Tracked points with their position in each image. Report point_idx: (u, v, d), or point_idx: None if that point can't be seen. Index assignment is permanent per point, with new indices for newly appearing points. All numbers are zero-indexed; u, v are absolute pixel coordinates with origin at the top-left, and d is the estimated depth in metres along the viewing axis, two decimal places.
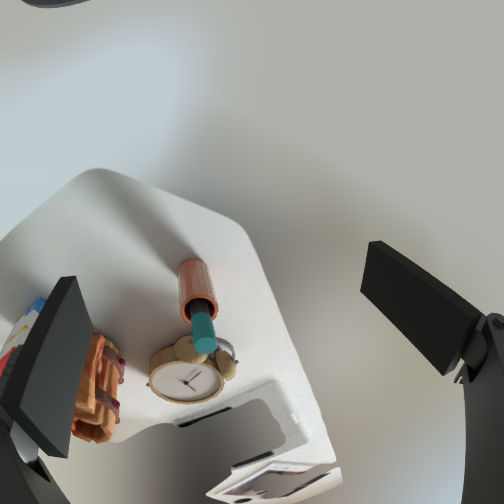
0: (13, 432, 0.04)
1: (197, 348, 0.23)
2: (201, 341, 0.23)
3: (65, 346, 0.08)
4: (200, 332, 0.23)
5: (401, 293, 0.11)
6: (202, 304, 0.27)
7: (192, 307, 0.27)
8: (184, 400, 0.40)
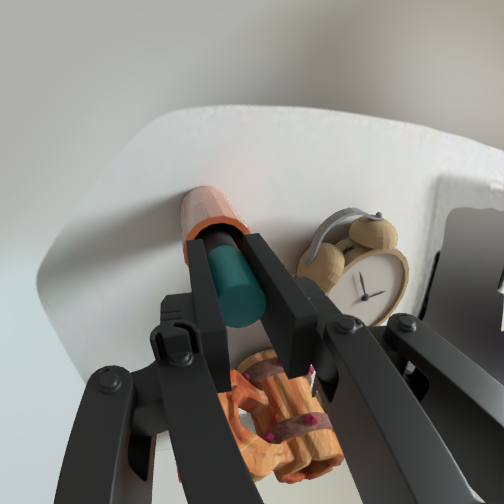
0: None
1: (239, 323, 0.11)
2: (224, 311, 0.10)
3: None
4: None
5: None
6: (207, 242, 0.15)
7: None
8: (388, 309, 0.29)
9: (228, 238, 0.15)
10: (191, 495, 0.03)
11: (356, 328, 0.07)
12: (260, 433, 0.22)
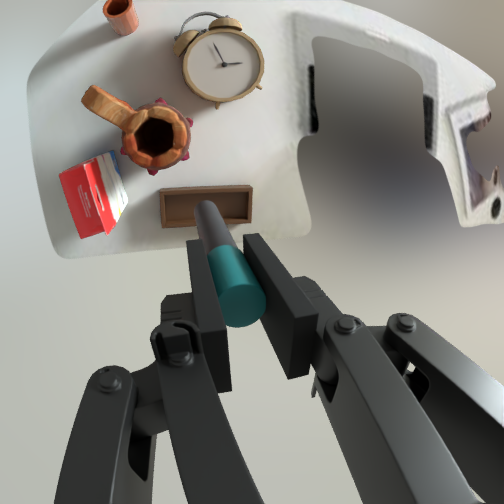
0: None
1: (239, 323, 0.11)
2: (225, 311, 0.10)
3: None
4: None
5: None
6: (207, 242, 0.15)
7: None
8: (253, 82, 0.35)
9: (228, 238, 0.15)
10: (191, 495, 0.03)
11: (356, 328, 0.07)
12: None
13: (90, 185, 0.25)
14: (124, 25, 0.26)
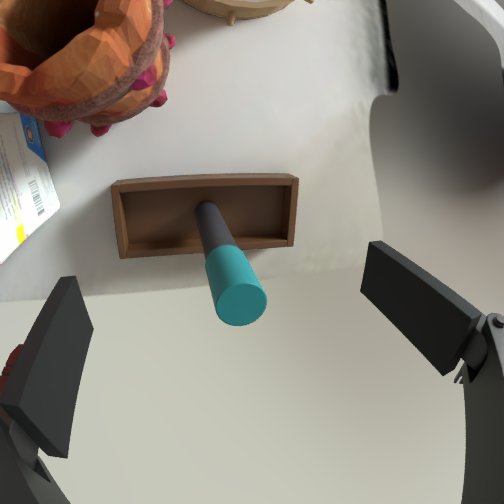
0: (13, 432, 0.04)
1: (240, 321, 0.11)
2: (226, 309, 0.11)
3: (65, 346, 0.08)
4: None
5: (401, 293, 0.11)
6: (207, 242, 0.15)
7: None
8: None
9: (229, 238, 0.15)
10: None
11: None
12: None
13: None
14: None
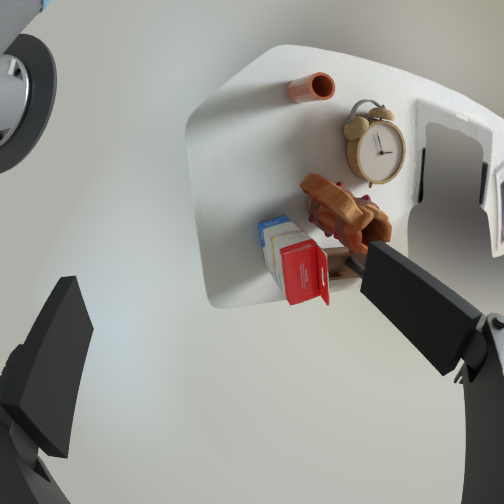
0: (13, 432, 0.04)
1: None
2: None
3: (65, 346, 0.08)
4: None
5: (401, 293, 0.11)
6: None
7: None
8: (396, 168, 0.45)
9: None
10: None
11: None
12: (335, 219, 0.38)
13: (327, 270, 0.35)
14: (312, 101, 0.35)
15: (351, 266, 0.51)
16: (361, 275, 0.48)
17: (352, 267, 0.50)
